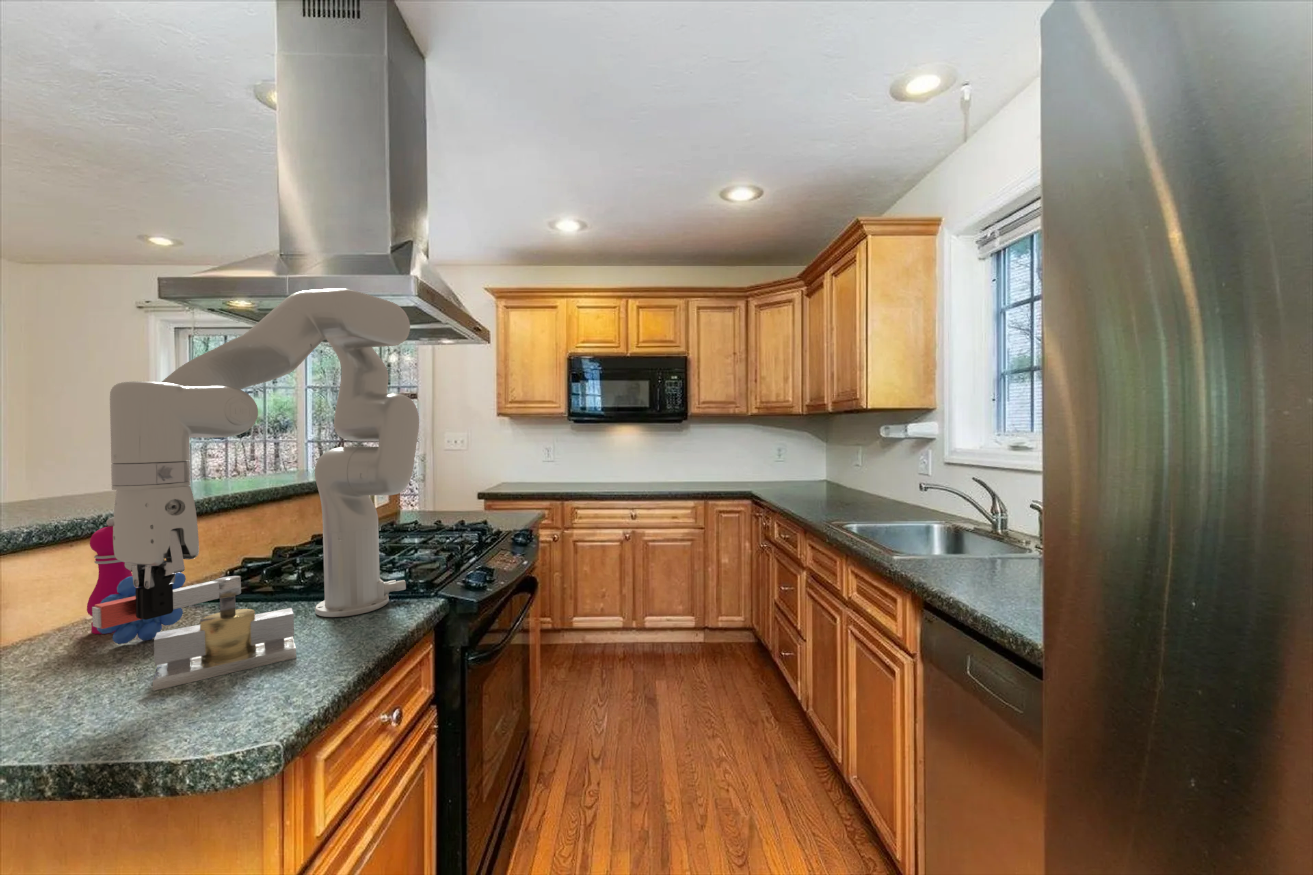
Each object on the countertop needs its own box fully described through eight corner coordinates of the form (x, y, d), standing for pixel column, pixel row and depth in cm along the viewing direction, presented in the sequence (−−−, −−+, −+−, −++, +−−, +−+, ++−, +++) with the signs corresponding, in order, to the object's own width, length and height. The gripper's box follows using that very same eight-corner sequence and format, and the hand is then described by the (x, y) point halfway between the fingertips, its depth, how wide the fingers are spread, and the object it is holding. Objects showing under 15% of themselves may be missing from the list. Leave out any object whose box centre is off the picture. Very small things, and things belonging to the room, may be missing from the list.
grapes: (190, 624, 97) (188, 558, 97) (194, 633, 92) (192, 564, 92) (97, 643, 89) (95, 571, 89) (97, 655, 84) (95, 579, 84)
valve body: (291, 640, 89) (289, 580, 89) (296, 657, 82) (294, 593, 82) (160, 668, 79) (158, 601, 79) (153, 690, 72) (150, 617, 72)
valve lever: (233, 591, 82) (233, 573, 82) (245, 594, 81) (244, 575, 81) (90, 626, 68) (89, 604, 68) (101, 630, 67) (100, 608, 67)
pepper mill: (153, 618, 101) (150, 512, 100) (129, 632, 94) (126, 518, 94) (104, 623, 98) (101, 515, 98) (76, 637, 92) (72, 521, 91)
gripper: (220, 474, 71) (223, 612, 71) (153, 473, 76) (155, 601, 76) (151, 479, 64) (154, 632, 64) (81, 478, 69) (84, 619, 69)
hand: (155, 615), depth 70 cm, fingers closed
